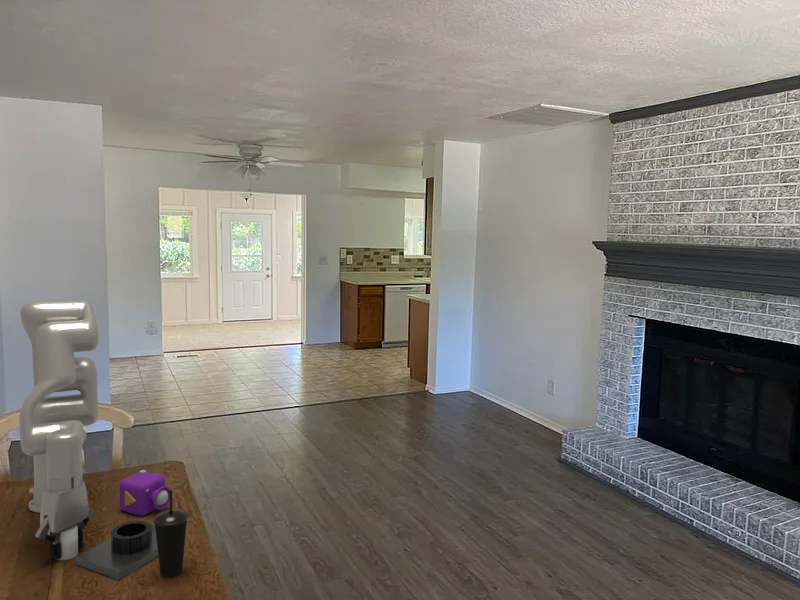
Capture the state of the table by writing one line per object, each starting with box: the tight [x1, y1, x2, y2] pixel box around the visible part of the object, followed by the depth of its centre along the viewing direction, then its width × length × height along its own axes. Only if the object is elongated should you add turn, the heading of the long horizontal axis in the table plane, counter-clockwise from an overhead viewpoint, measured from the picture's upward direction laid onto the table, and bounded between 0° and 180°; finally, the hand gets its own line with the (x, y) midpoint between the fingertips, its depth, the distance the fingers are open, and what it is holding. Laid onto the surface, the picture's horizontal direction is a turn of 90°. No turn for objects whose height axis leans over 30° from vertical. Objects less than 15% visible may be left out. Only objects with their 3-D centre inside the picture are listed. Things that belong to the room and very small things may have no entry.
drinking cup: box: [152, 489, 189, 579], centre depth 140 cm, size 8×8×20 cm
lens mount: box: [75, 520, 159, 581], centre depth 149 cm, size 14×20×6 cm
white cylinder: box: [54, 524, 79, 561], centre depth 147 cm, size 5×5×7 cm
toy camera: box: [119, 469, 171, 517], centre depth 172 cm, size 11×14×10 cm
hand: (66, 551), depth 147 cm, fingers open, 5 cm apart
